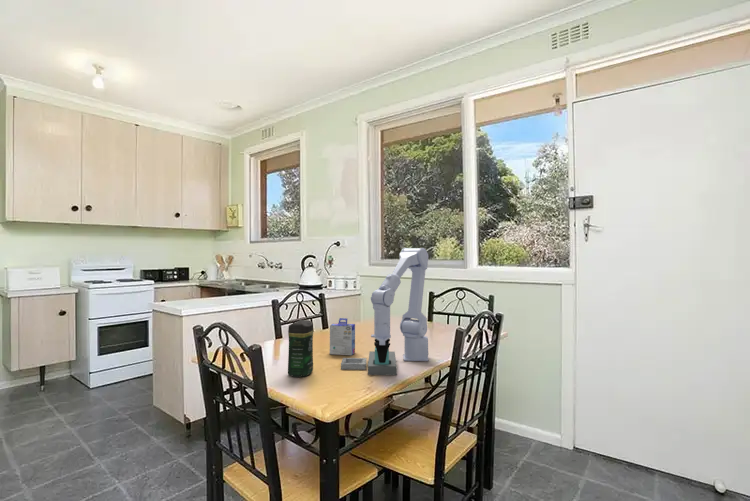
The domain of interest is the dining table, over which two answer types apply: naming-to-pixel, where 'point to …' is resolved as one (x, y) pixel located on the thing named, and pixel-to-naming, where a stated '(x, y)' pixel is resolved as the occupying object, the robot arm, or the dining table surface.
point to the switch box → (382, 365)
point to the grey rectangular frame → (353, 364)
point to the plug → (378, 359)
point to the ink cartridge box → (342, 338)
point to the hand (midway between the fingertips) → (382, 360)
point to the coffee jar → (300, 348)
